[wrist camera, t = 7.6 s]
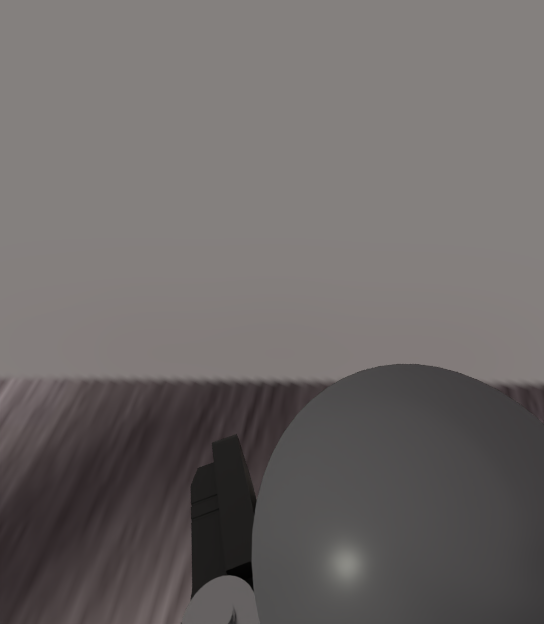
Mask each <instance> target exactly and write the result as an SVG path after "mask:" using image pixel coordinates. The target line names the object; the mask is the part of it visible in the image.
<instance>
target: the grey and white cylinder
mask: <svg viewBox="0 0 544 624" xmlns="http://www.w3.org/2000/svg"><path fill="white" fill-rule="evenodd" d="M252 573H253V586H254V595H255V601H256V606H257V611H258V617H259V622H260V624H544V424H543V423H542V422H541V421H540V420H539V419H538V418H537V417H535V416H534V415H533V414H531V413H530V412H529V411H528V410H526V409H525V408H524V407H523V406H521V405H520V404H519V403H517V402H516V401H514V400H513V399H511V398H510V397H508V396H506V395H505V394H503V393H502V392H500V391H499V390H497V389H495V388H493V387H491V386H489V385H487V384H485V383H483V382H481V381H479V380H477V379H474V378H471V377H469V376H466V375H463V374H461V373H458V372H454V371H451V370H447V369H443V368H439V367H433V366H426V365H419V364H396V365H387V366H378V367H375V368H371V369H367V370H363V371H360V372H357V373H355V374H352V375H350V376H347V377H345V378H343V379H341V380H339V381H338V382H336V383H334V384H332V385H331V386H329V387H327V388H326V389H324V390H323V391H322V392H321V393H319V394H318V395H317V396H316V397H314V398H313V399H312V400H311V401H310V402H309V403H308V404H307V405H306V406H305V407H304V408H303V409H302V410H301V411H300V412H299V413H298V414H297V415H296V416H295V418H294V419H293V421H292V422H291V423H290V425H289V426H288V427H287V429H286V430H285V432H284V433H283V435H282V436H281V438H280V440H279V442H278V444H277V446H276V447H275V449H274V451H273V453H272V455H271V458H270V460H269V463H268V465H267V468H266V471H265V473H264V476H263V479H262V483H261V486H260V490H259V494H258V498H257V502H256V508H255V515H254V523H253V530H252Z"/></svg>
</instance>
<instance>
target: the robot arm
mask: <svg viewBox="0 0 544 624" xmlns="http://www.w3.org/2000/svg"><path fill="white" fill-rule="evenodd" d="M212 449H213V458H214V463H211V464H208V465H205V466H202V467H200V468H198V470H197V472H196V474H195V477H194V479H193V482H192V484H191V505H192V507H191V519H192V523H191V527H192V595H191V600H190V603H189V605H188V607H187V608H186V611H185V613H184V616H183V620H182V622H181V624H260V622H259V617H258V611H257V606H256V601H255V595H254V586H253V573H252V530H253V523H254V515H255V508H256V502H257V500H256V496H255V492H254V488H253V484H252V481H251V477H250V474H249V471H248V468H247V464H246V461H245V458H244V455H243V452H242V448H241V445H240V442H239V439H238V436H237V434H236V435H233V436H230V437H227V438H224V439H221V440H219V441H216V442H213V443H212Z"/></svg>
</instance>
